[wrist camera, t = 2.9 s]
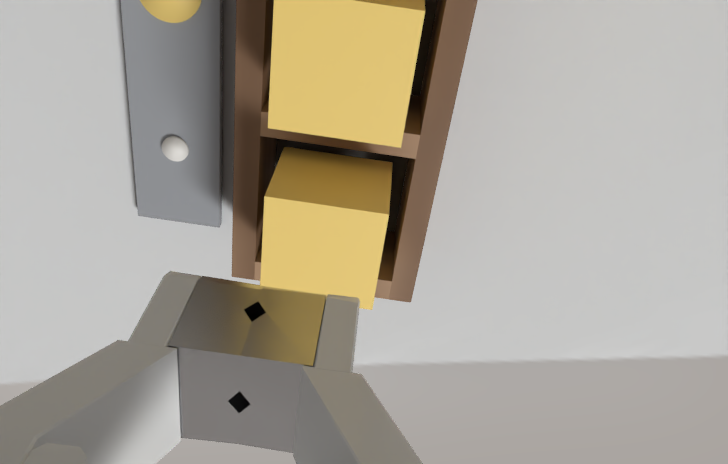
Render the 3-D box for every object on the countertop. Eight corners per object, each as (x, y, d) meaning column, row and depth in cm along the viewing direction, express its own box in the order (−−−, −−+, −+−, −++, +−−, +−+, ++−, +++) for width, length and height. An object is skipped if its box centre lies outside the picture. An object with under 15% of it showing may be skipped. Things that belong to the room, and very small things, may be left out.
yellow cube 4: (392, 162, 26) (389, 214, 22) (377, 251, 28) (372, 309, 25) (284, 146, 25) (264, 196, 22) (278, 236, 28) (259, 293, 25)
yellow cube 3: (423, -19, 22) (425, 11, 18) (403, 101, 24) (400, 147, 21) (296, -39, 22) (274, -12, 18) (288, 85, 24) (267, 128, 21)
